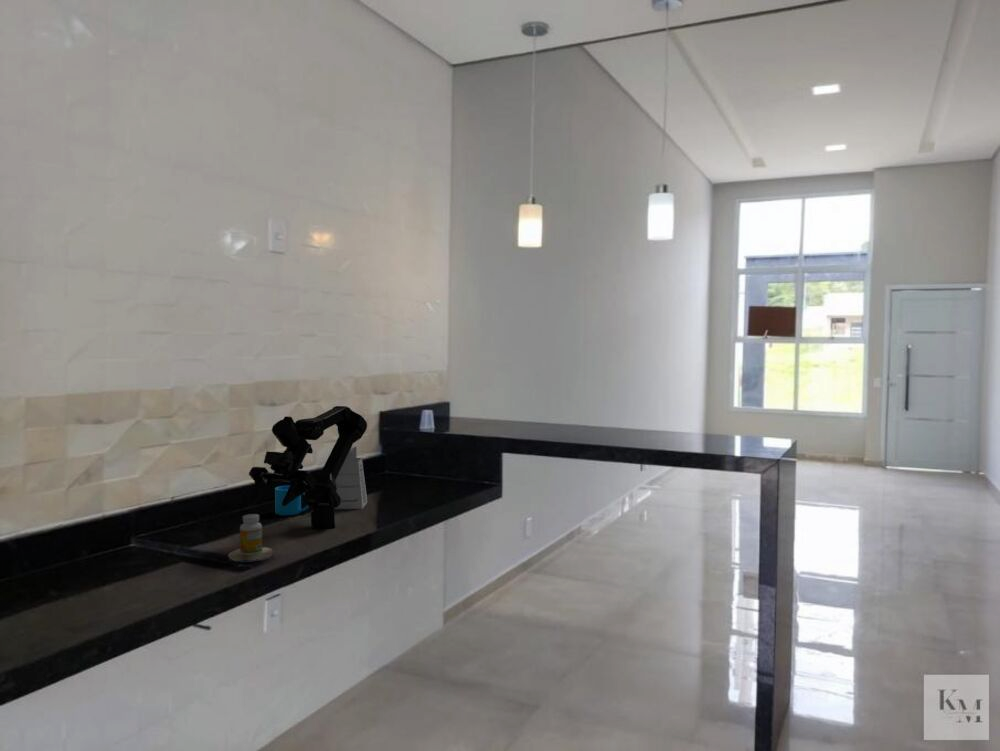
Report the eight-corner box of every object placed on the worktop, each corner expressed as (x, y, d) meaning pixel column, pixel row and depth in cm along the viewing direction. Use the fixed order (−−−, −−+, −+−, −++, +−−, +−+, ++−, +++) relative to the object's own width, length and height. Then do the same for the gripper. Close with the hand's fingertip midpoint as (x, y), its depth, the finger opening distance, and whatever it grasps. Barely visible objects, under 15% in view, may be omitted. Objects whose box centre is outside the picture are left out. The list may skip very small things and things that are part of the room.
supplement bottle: (239, 551, 190) (238, 514, 190) (260, 548, 193) (260, 512, 192) (241, 556, 185) (241, 519, 185) (263, 554, 188) (263, 516, 187)
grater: (367, 501, 254) (367, 444, 253) (362, 508, 243) (362, 449, 242) (337, 502, 253) (336, 444, 252) (331, 509, 243) (330, 449, 242)
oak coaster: (274, 549, 196) (274, 545, 195) (270, 561, 185) (270, 557, 185) (231, 551, 193) (231, 548, 193) (225, 564, 182) (225, 560, 182)
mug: (270, 514, 235) (270, 489, 234) (283, 509, 243) (282, 484, 242) (304, 516, 232) (304, 491, 232) (316, 510, 240) (316, 486, 240)
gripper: (252, 438, 203) (225, 484, 193) (309, 441, 196) (284, 489, 186) (271, 461, 210) (246, 507, 201) (326, 465, 204) (303, 513, 194)
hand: (268, 504), depth 195 cm, fingers open, 9 cm apart
